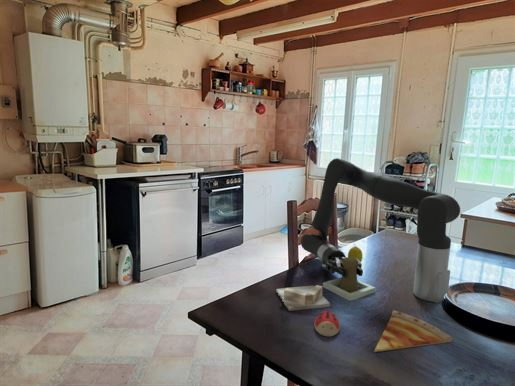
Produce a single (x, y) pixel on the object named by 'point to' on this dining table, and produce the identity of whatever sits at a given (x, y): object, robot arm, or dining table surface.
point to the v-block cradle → (303, 297)
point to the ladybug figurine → (327, 324)
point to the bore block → (349, 296)
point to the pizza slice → (409, 333)
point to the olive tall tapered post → (350, 275)
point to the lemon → (355, 253)
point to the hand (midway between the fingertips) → (353, 273)
